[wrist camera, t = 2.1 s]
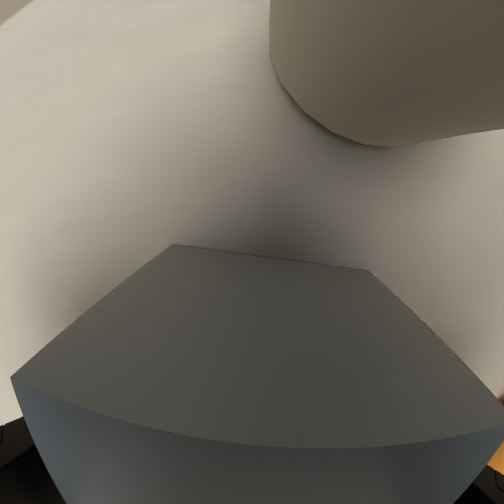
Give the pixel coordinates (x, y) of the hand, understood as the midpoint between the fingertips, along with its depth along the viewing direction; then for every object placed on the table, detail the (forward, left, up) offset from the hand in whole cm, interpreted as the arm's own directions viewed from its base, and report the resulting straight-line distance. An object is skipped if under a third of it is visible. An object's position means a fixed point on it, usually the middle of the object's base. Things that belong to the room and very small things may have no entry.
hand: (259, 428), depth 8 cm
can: (-2, -12, -5) cm, 13 cm away
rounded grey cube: (0, 0, -5) cm, 5 cm away
